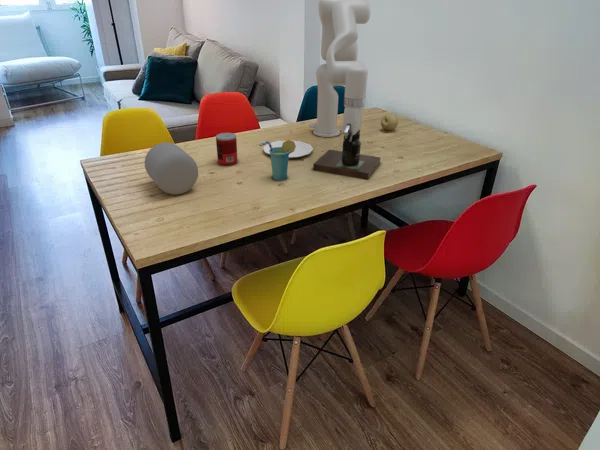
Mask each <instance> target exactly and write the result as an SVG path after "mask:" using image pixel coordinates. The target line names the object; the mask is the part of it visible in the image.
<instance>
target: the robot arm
mask: <svg viewBox="0 0 600 450" xmlns="http://www.w3.org/2000/svg"><path fill="white" fill-rule="evenodd" d="M318 16H319V19H320V22H321V23H320V24H321V42H320V57H321V59H322V60H323V61H325V63H322V64H320V65H319V66H318V67H317V68H316V73H315V74H316V75H315V76H316V84H317V86H316V87H317V103H316V105H317V106H316V107H317V109H316V122H312V121H309V123H308V126H309V128H311V129H312V128H313V130H312V132H313V134H314V136H318V137H321V138H333V137H334V138H335V137H337V136H340V133H341V134H342V135H343V139H342V148H343V151H347V152H351V151H352V141H351V140H352V137H353V135H355V134H356V133H357V132H358V133H359V139H358V140H359V141H360V137H361V128H362V124H363V123H362V122H363V108H365V107H366V96H367V85H368V72H369V71H368V68H367V66H366V64H365V63H364V61H361V60H358V56H359V55H358V54H359V47H358V42H357V41H358V38H359V34H358V26H357V25H363V24H367V23H368V22H369V20H370V18H371V6H370V4H369V2H368V0H319V2H318ZM334 87H344V96H343V97H344V98H343V106H344V112H343V117H342V125H341V131H340V129H339V128H338V113H339V112H338V111H339V93H338V92H337V91H336V89H335V88H334ZM349 132H351V133H349ZM348 135H350V137H349V136H348Z"/></svg>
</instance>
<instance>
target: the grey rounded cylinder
mask: <svg viewBox="0 0 600 450" xmlns="http://www.w3.org/2000/svg"><path fill="white" fill-rule="evenodd" d="M144 169H145V171H146V174H147V175H148V176H149V178H150V179H151V180H152V181H153V183H154V184H155V185H157V187H158V188H159V189H160V190H161V191H163V192H164V193H166V194H169V195H175V196H176V195H177V196H178V195H182V194H184V193H186V192H188V191H190V190H192V188H194V186H195V184H196V183H197V180H198V177H199V166H198V164H197V163H196V161H195V159H194V158H193V157H192V156H191V155H189V153H188V152H186V151H185V150H183V149H182V147H180V146H178V145H177V144H174V143H172V142H160V143H157V144H155V145H154V146H152V147H151V148H150V149H149V150H148V152H147V153H146V155H145V158H144ZM153 195H154V194H153V193H151V196H153Z"/></svg>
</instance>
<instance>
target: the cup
mask: <svg viewBox="0 0 600 450" xmlns="http://www.w3.org/2000/svg"><path fill="white" fill-rule="evenodd" d="M286 140H287V141H286ZM286 140H284V141H285V142H283V145H282V147H274V148H272V146H271V143H272V142H270V141H269V140H267V141H264V142H262V143H259V147H262V146H266V145H267V144H269V147H270V150H269V153H270V154H269V155H270V164H271V173H272V179H273V180H275V181H284V180H286V179H287V178H288V170H289V169H288V168H289V166H288V165H289V159H290V158H289V154H290V153H292V152H294V150H295V147H296V146H295V143H294V141H295V140H293V141H291V140H292V139H286Z"/></svg>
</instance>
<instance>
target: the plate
mask: <svg viewBox="0 0 600 450" xmlns="http://www.w3.org/2000/svg"><path fill="white" fill-rule="evenodd" d="M287 140H288V139H286V140H275V141H273V142H272V141H271V142H270V143H271V146H272V148H274V147H282V145H283V142H285V141H287ZM290 140H291V141H294V143H295V146H296V147H295V150H294V152H292V153H290V154H289V158H288V159H297V158H301V157H304V156H308V155H310V154H311V153H312V152H313V151H314V148H313V147H312V145H311V144H310V143H306V142H304V141H300V140H299V141H298V140H294V139H293V140H292V139H290ZM262 149H263V152H264V154H266V155H267V154H268V155H270V153H269V150H270V147H269V144H265V145H263V147H262Z"/></svg>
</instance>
